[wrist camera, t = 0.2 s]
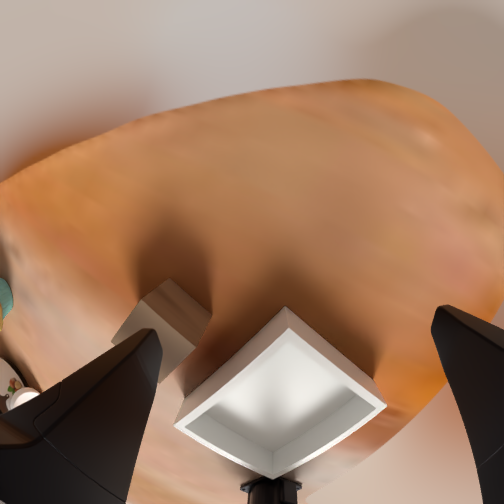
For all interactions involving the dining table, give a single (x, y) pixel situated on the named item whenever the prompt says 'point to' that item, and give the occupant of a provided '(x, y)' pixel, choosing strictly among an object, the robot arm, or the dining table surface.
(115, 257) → the dining table surface
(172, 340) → the walnut block
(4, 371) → the spread jar
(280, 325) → the bin
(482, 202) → the dining table surface
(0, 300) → the cupcake
